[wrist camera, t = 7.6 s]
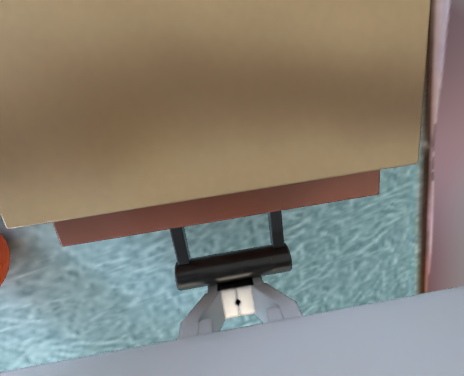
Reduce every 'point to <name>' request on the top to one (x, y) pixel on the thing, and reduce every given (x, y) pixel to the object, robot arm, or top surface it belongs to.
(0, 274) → the clementine
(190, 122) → the cabinet
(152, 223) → the drawer
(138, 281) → the top surface
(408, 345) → the robot arm
